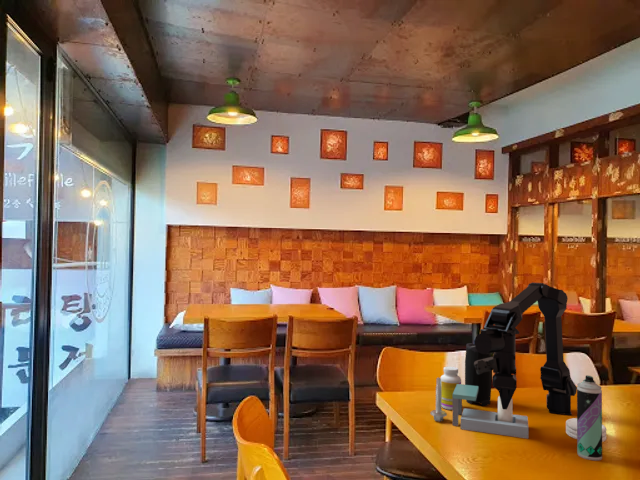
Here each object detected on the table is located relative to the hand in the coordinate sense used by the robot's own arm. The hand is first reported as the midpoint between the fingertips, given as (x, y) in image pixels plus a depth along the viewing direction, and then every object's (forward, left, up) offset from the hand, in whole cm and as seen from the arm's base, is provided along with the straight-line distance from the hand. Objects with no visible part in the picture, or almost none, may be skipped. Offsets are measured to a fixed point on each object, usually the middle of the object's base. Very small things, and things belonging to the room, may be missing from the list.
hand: (504, 404), depth 138 cm
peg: (0, 0, -7) cm, 7 cm away
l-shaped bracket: (+11, -3, -7) cm, 14 cm away
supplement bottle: (+17, -14, -7) cm, 23 cm away
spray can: (-20, +11, -7) cm, 24 cm away
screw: (+19, 0, -7) cm, 20 cm away
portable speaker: (+9, -23, -7) cm, 26 cm away
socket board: (+3, 0, -7) cm, 8 cm away
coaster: (-21, -4, -8) cm, 23 cm away
